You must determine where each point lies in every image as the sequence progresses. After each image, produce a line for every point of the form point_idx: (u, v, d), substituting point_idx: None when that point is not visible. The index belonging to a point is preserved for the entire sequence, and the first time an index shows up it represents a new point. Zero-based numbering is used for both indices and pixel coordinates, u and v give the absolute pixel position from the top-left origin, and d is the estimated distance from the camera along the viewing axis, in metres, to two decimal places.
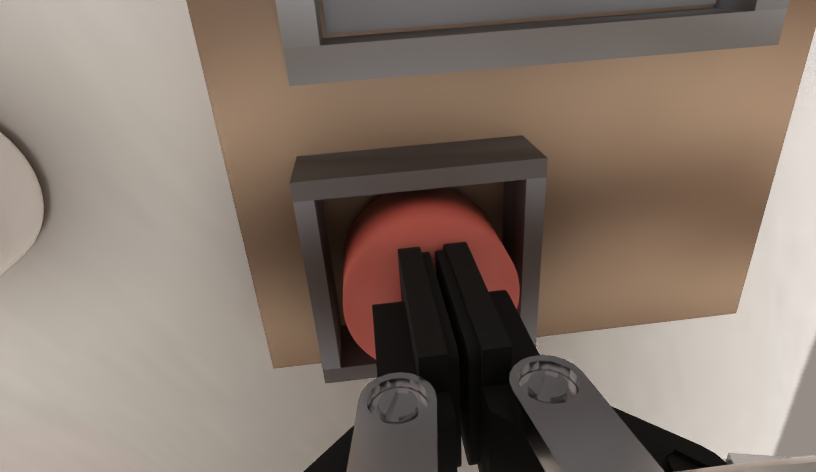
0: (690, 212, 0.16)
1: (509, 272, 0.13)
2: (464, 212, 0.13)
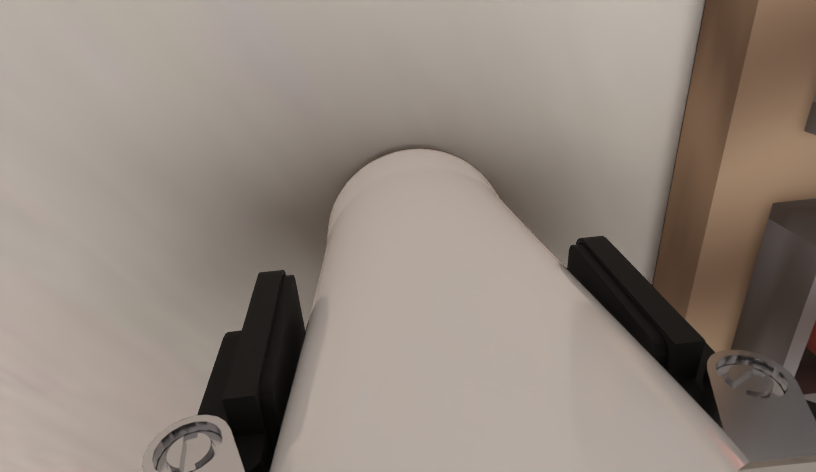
0: None
1: None
2: None
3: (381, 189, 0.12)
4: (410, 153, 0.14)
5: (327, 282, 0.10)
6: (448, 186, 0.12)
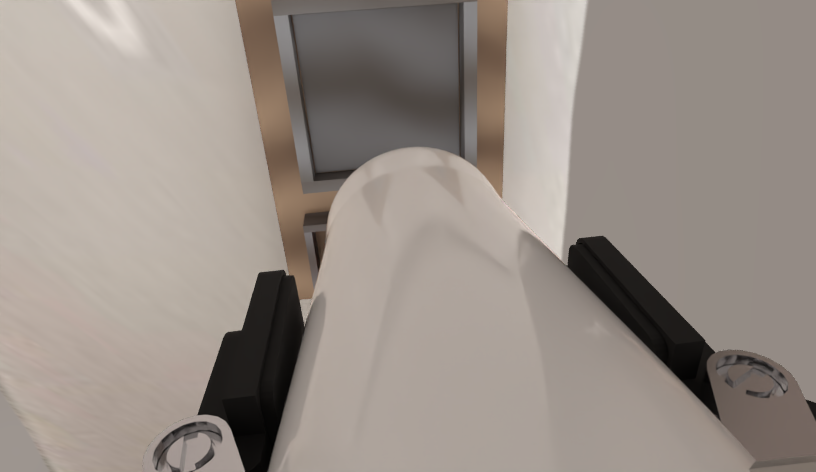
0: None
1: None
2: None
3: (380, 186, 0.12)
4: (409, 150, 0.14)
5: (326, 279, 0.10)
6: (447, 183, 0.12)
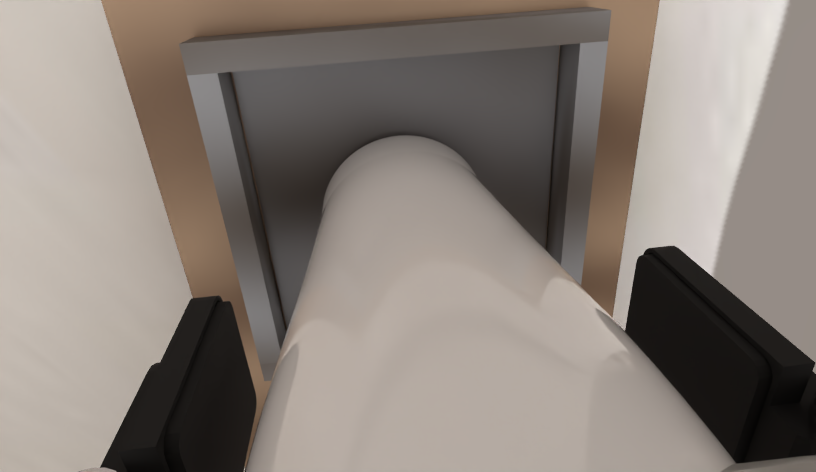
0: None
1: None
2: None
3: (369, 169, 0.14)
4: (397, 138, 0.15)
5: (319, 247, 0.11)
6: (429, 165, 0.13)
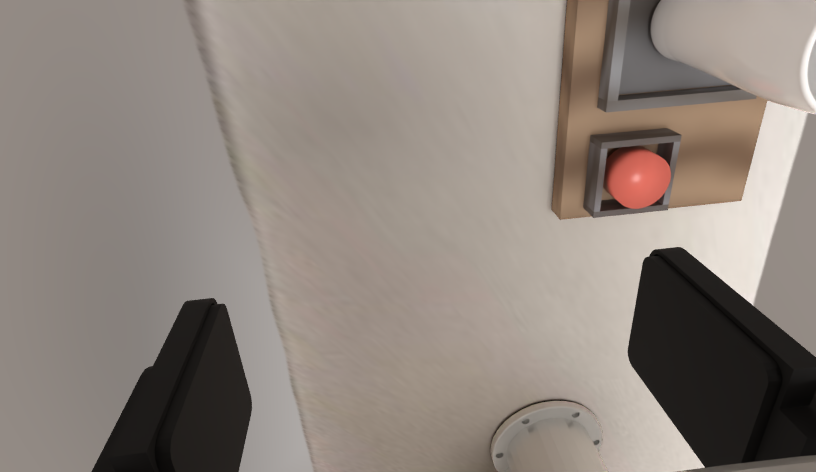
0: (724, 157, 0.42)
1: (668, 172, 0.39)
2: None
3: None
4: None
5: None
6: None
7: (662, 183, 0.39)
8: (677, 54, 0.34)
